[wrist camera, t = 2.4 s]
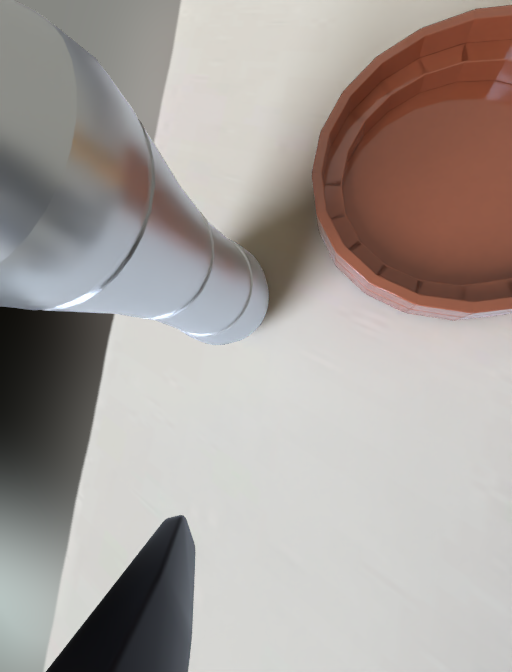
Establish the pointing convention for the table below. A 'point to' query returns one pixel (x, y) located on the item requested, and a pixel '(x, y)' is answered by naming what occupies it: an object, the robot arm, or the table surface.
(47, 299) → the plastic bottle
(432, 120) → the bowl
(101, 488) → the table surface
